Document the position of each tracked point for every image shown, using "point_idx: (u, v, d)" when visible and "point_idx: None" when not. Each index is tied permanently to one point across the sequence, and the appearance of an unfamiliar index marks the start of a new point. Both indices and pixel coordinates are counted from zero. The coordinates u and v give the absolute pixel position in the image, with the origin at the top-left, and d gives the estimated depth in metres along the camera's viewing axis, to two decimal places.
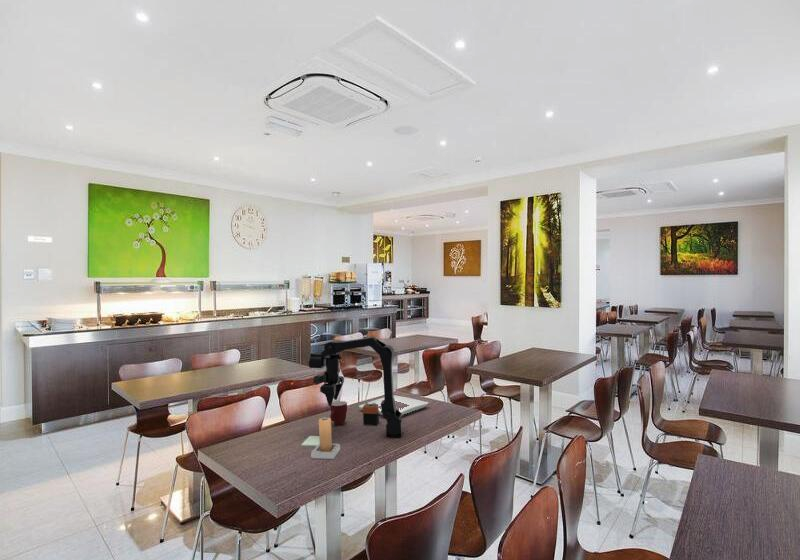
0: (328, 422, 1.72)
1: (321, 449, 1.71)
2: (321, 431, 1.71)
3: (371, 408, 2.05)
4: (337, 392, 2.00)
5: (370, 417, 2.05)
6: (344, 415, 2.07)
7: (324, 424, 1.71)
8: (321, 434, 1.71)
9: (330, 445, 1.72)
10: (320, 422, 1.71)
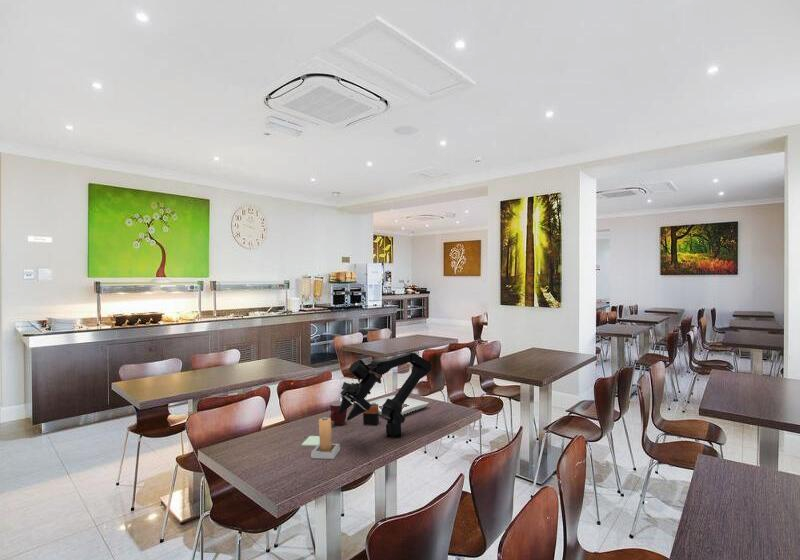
0: (328, 422, 1.72)
1: (321, 449, 1.71)
2: (321, 431, 1.71)
3: (371, 408, 2.05)
4: (344, 408, 1.83)
5: (370, 417, 2.05)
6: (344, 415, 2.07)
7: (324, 424, 1.71)
8: (321, 434, 1.71)
9: (330, 445, 1.72)
10: (320, 422, 1.71)
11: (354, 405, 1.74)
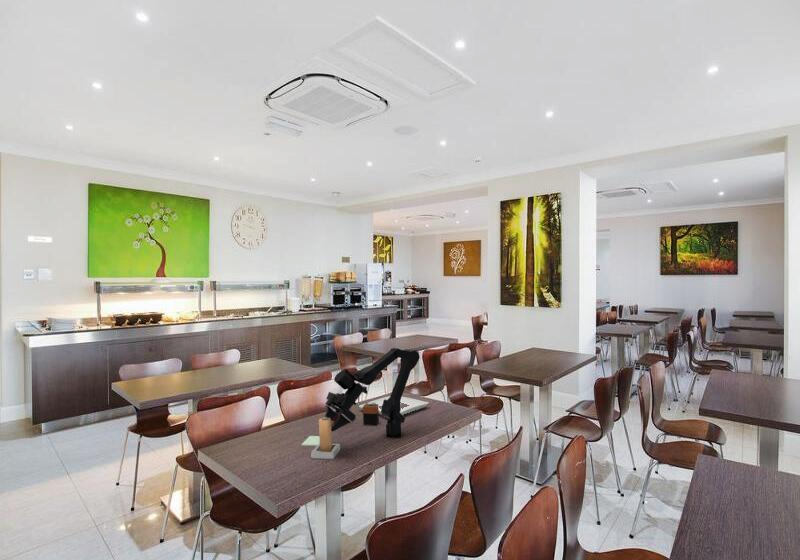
0: (328, 422, 1.72)
1: (321, 449, 1.71)
2: (321, 431, 1.71)
3: (371, 408, 2.05)
4: None
5: (370, 417, 2.05)
6: None
7: (324, 424, 1.71)
8: (321, 434, 1.71)
9: (330, 445, 1.72)
10: (320, 422, 1.71)
11: (338, 416, 1.70)
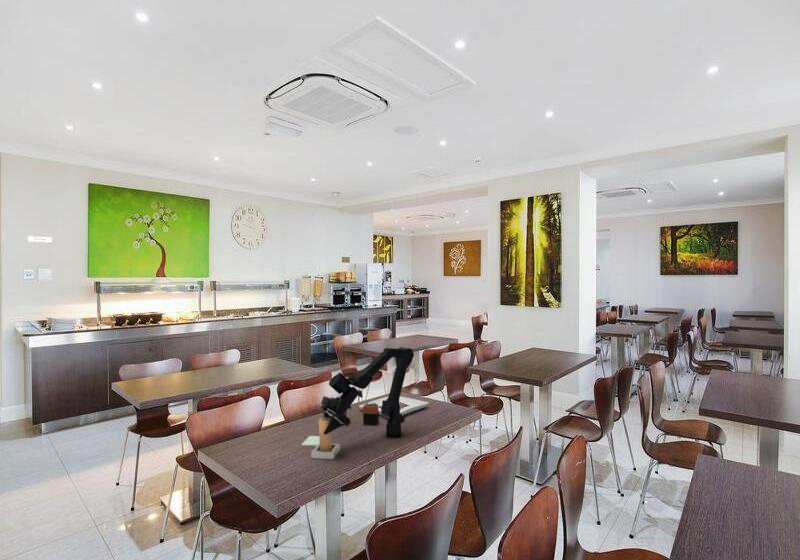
0: (328, 422, 1.72)
1: (321, 449, 1.71)
2: (321, 431, 1.71)
3: (371, 408, 2.05)
4: None
5: (370, 417, 2.05)
6: None
7: (324, 424, 1.71)
8: (321, 434, 1.71)
9: (330, 445, 1.72)
10: (320, 422, 1.71)
11: (331, 419, 1.71)
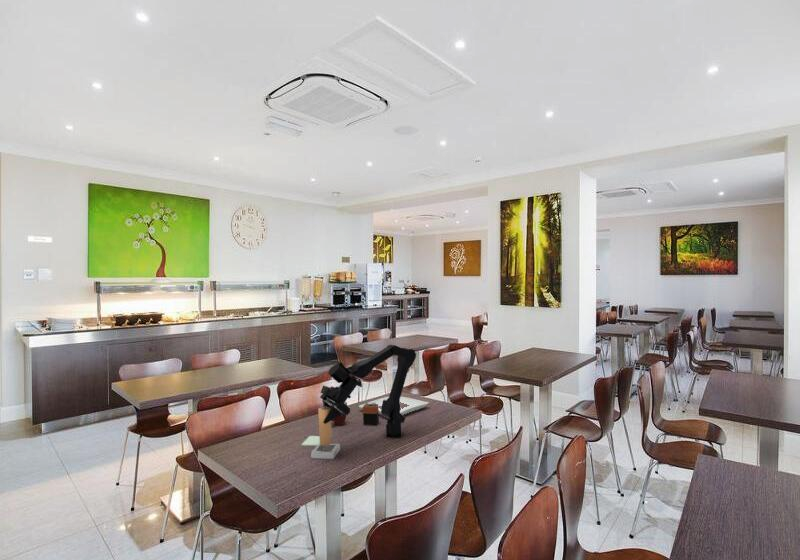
0: (328, 411, 1.72)
1: (321, 438, 1.71)
2: (321, 420, 1.71)
3: (371, 408, 2.05)
4: None
5: (370, 417, 2.05)
6: (344, 415, 2.07)
7: (324, 413, 1.71)
8: (321, 423, 1.71)
9: (330, 434, 1.72)
10: (320, 411, 1.71)
11: (331, 408, 1.71)
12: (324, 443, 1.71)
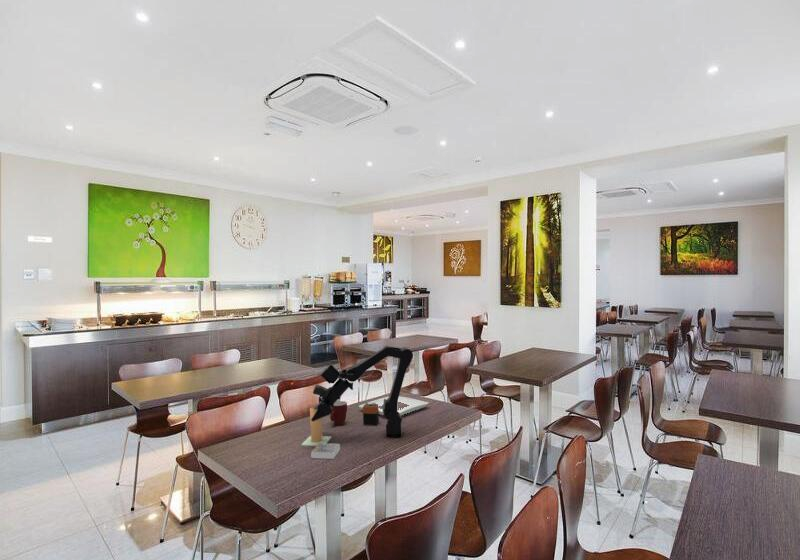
0: None
1: (311, 435, 1.86)
2: (310, 418, 1.85)
3: (371, 408, 2.05)
4: None
5: (370, 417, 2.05)
6: (344, 415, 2.07)
7: (312, 412, 1.85)
8: (310, 421, 1.85)
9: (319, 433, 1.85)
10: (310, 410, 1.86)
11: None
12: (313, 440, 1.85)
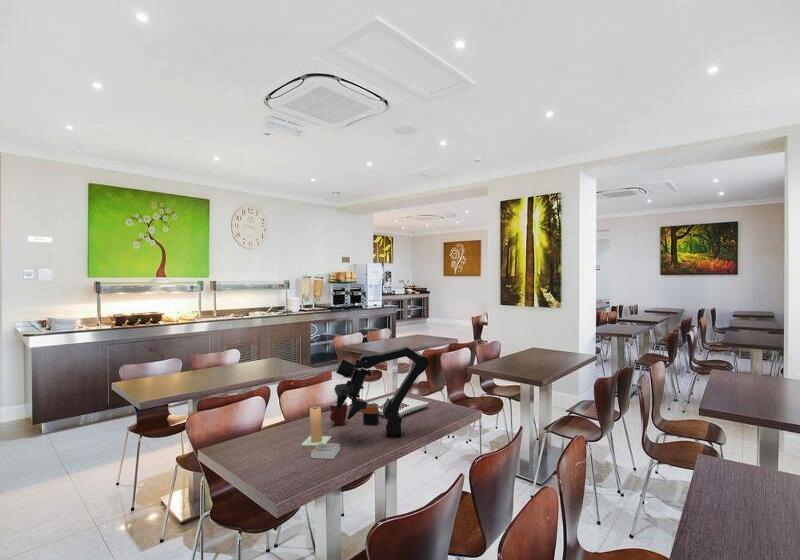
0: (316, 411, 1.85)
1: (311, 435, 1.86)
2: (310, 419, 1.85)
3: (371, 408, 2.05)
4: (341, 403, 1.92)
5: (370, 417, 2.05)
6: (344, 415, 2.07)
7: (312, 412, 1.84)
8: (310, 421, 1.85)
9: (318, 433, 1.85)
10: (310, 410, 1.86)
11: (351, 407, 1.82)
12: (313, 440, 1.85)
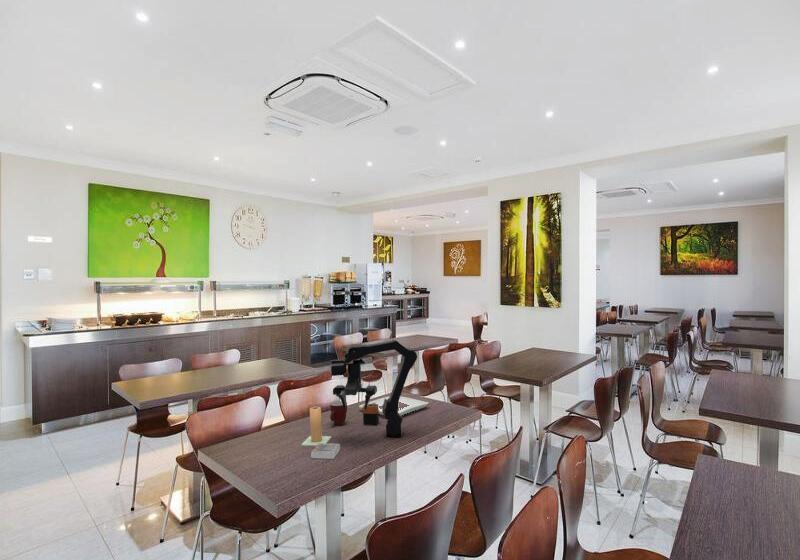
0: (316, 411, 1.85)
1: (311, 435, 1.86)
2: (310, 418, 1.85)
3: (371, 408, 2.05)
4: (345, 401, 1.90)
5: (370, 417, 2.05)
6: (344, 415, 2.07)
7: (312, 412, 1.85)
8: (310, 421, 1.86)
9: (318, 432, 1.85)
10: (310, 410, 1.86)
11: (367, 397, 1.85)
12: (313, 440, 1.85)
